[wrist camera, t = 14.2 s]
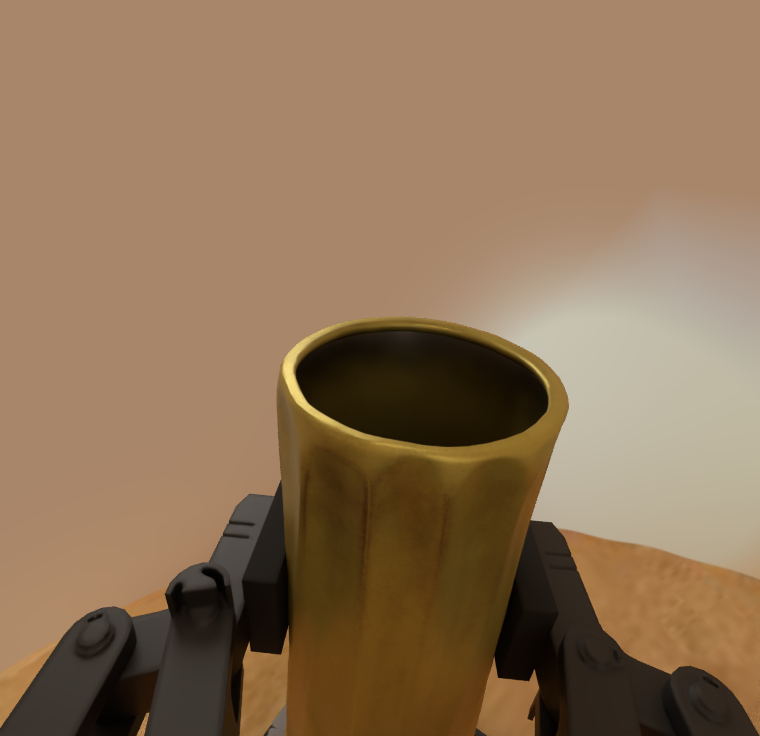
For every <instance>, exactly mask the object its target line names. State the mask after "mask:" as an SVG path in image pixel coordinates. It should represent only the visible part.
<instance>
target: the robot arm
mask: <svg viewBox="0 0 760 736" xmlns="http://www.w3.org/2000/svg"><path fill="white" fill-rule="evenodd" d="M165 596H166V600H167V604H168V608H169V609H166V610H162V611H159V612H155V613H150V614H145V615H141V616H136V617H131V616H130V615H129V614H128V613H127V612H126V611H125V609H121V608H118V607H106V608H100V609H98V610H96V611H93V612H91V613H88V614H87V615H85V616H84V617H82V618H81V619H80V620H78V621H77V622H76V623H74V624H73V626H72V627H71V628H70V629H69V630H68V631H67V632H66V633H65V635H64V636H63V637H62V639H61V640H60V642H59V643H58V645H57V646H56V648H55V649H54V651H53V652H52V653H51V655H50V656H49V658H48V659H47V661H46V662H45V664H44V665H43V667H42V668H41V670H40V671H39V672H38V674H37V675H36V677H35V678H34V680H33V681H32V683H31V684H30V686H29V687H28V689H27V690H26V691H25V693H24V694H23V696H22V697H21V699H20V700H19V702H18V703H17V705H16V706H15V708H14V709H13V711H12V712H11V713H10V715H9V716H8V718H7V719H6V721H5V722H4V724H3V725H2V727H1V728H0V736H137V733H138V731H139V729H140V726H141V724H142V722H143V720H144V717H145V715H146V713H148V712H150V713H149V717H148V722H147V726H146V730H145V735H144V736H239V735H240V720H241V705H242V691H243V676H244V669H243V658H244V655H245V652H246V649H247V646H248V643H249V641H250V649H251V651H252V652H262V653H271V654H280V655H281V653H282V649H283V645H284V641H285V637H286V633H287V629H288V625H289V621H288V577H287V560H286V548H285V531H284V512H283V495H282V481H280V483H279V486H278V489H277V491H276V494H275V496H267V495H257V494H249V495H248V496H247V497H245V498H244V499H243V500H242V501H241V502H240V503H239V504H238V505H237V506H236V508H235V510H234V512H233V514H232V516H231V518H230V520H229V524H227V526H226V528H225V530H224V532H223V536H222V537H221V538H220V541H219V542H218V544H217V547H216V549H215V551H214V553H213V555H212V557H211V559H210V561H209V563H200V564H196V565H193V566H190V567H188V568H187V569H185V570H184V571H182V572H180V573H179V574H178V575H177V576H176V577H175V578H174V579H173V580H172V582H170V584H169V586H168V588H167V591H166V593H165ZM494 657H495V663H496V669H497V675H498V678H504V679H514V680H523V681H529V680H530V678H531V676H532V673H533V671H534V669H535V672H536V676H537V680H538V684H539V690H538V692H537V694H536V697H535V699H534V701H533V703H532V705H531V707H530V710H529V715H528V719H529V720H533V718H534V716H535V736H759V734H758V732H757V731H756V729H755V727H754V725H753V724H752V722H751V720H750V719H749V717H748V715H747V713H746V712H745V710H744V708H743V706H742V705H741V704H740V702H739V701H738V700H737V698H736V697H735V696H734V694H733V693H732V692H731V691H730V690H729V689H728V688H727V687H726V686H725V685H724V684H723V683H722V682H721V681H720V680H718V679H717V678H715V677H714V676H712V675H711V674H709V673H707V672H706V671H704V670H701V669H698V668H695V667H692V666H684V667H679V668H677V669H676V670H675V671H674V672H673V673H672V674H669V673H666V672H664V671H661V670H659V669H657V668H654V667H652V666H650V665H647V664H645V663H643V662H640V661H638V660H636V659H634V658H632V657H630V656H628V655H627V654H626V653H624V652H623V650H622V649H621V648H620V646H619V645H618V643H617V642H616V641H615V640H614V639H613V638H612V637H610V636H609V635H608V634H607V633H606V632H605V631H603V629H602V627H601V625H600V623H599V621H598V619H597V616H596V614H595V611H594V609H593V607H592V604H591V602H590V599H589V597H588V594H587V592H586V589H585V587H584V584H583V582H582V579H581V577H580V574H579V572H578V571H577V567H576V565H575V562H574V560H573V557H571V552H570V550H569V547H568V545H567V542H566V540H565V538H564V536H563V535H562V534H561V533H560V532H559V530H558V529H557V528H556V527H555V526H554V525H553V523H552V522H542V521H531V520H530V523H529V527H528V530H527V534H526V537H525V541H524V545H523V548H522V552H521V556H520V559H519V563H518V567H517V570H516V574H515V578H514V582H513V586H512V590H511V594H510V598H509V602H508V606H507V610H506V614H505V618H504V622H503V626H502V629H501V632H500V636H499V639H498V643H497V646H496V650H495V654H494Z"/></svg>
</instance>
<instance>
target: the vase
mask: <svg viewBox="0 0 760 736" xmlns="http://www.w3.org/2000/svg"><path fill="white" fill-rule="evenodd" d="M568 409H569V402H568V396H567V393H566V390H565V388H564V386H563V384H562V382H561V380H560V378H559V377H558V376H557V375H556V373H555V372H554V371H553V370H552V369H551V368H550V367H549V366H548V365H547V364H546V363H545V362H544V361H543V360H542V359H540V358H539V357H537V356H536V355H534V354H533V353H531V352H529V351H527V350H526V349H524V348H522V347H520V346H517V345H516V344H513V343H512V342H509V341H507V340H505V339H503V338H501V337H499V336H496V335H494V334H491V333H488V332H485V331H481V330H477V329H474V328H470V327H467V326H463V325H459V324H456V323H451V322H446V321H440V320H433V319H425V318H416V317H380V318H365V319H357V320H352V321H347V322H343V323H339V324H336V325H333V326H329V327H327V328H324V329H323V330H320V331H318V332H316V333H314V334H312V335H310V336H308V337H307V338H305V339H303V340H302V341H301V342H299V343H298V344H297V345H296V346H295V347H294V348H293V349H292V350H291V351H290V352H289V353H288V354H287V355H286V357H285V359H284V360H283V362H282V364H281V367H280V372H279V377H278V385H277V419H278V438H279V454H280V455H279V456H280V469H281V481H282V495H283V512H284V531H285V548H286V560H287V577H288V621H289V659H288V679H287V699H286V717H287V721H286V728H285V734H284V736H474V734H475V731H476V727H477V723H478V719H479V715H480V711H481V707H482V702H483V698H484V693H485V689H486V684H487V680H488V676H489V673H490V670H491V667H492V663H493V659H494V654H495V650H496V646H497V643H498V639H499V636H500V632H501V629H502V626H503V622H504V618H505V614H506V610H507V606H508V602H509V598H510V594H511V590H512V586H513V582H514V578H515V574H516V570H517V567H518V563H519V559H520V556H521V552H522V548H523V545H524V541H525V537H526V534H527V530H528V527H529V523H530V519H531V516H532V513H533V510H534V507H535V504H536V501H537V497H538V494H539V492H540V489H541V486H542V482H543V480H544V477H545V473H546V470H547V468H548V464H549V461H550V458H551V455H552V452H553V449H554V445H555V442H556V440H557V438H558V435H559V432H560V430H561V427H562V425H563V423H564V421H565V419H566V415H567V412H568Z"/></svg>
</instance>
